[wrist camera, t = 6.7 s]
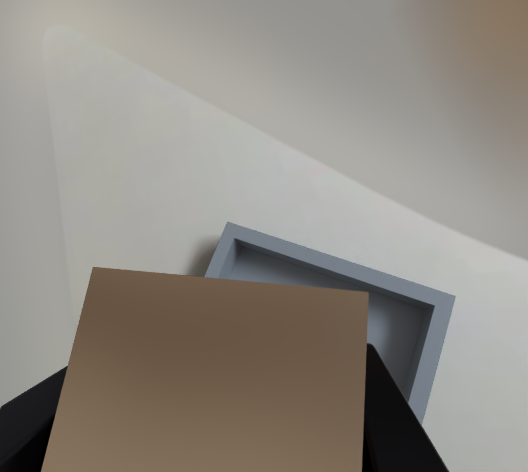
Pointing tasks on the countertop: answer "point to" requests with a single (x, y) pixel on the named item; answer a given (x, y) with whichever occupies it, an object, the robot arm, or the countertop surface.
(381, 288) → the tray
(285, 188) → the countertop surface
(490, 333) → the countertop surface
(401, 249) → the countertop surface
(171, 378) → the walnut handle block
